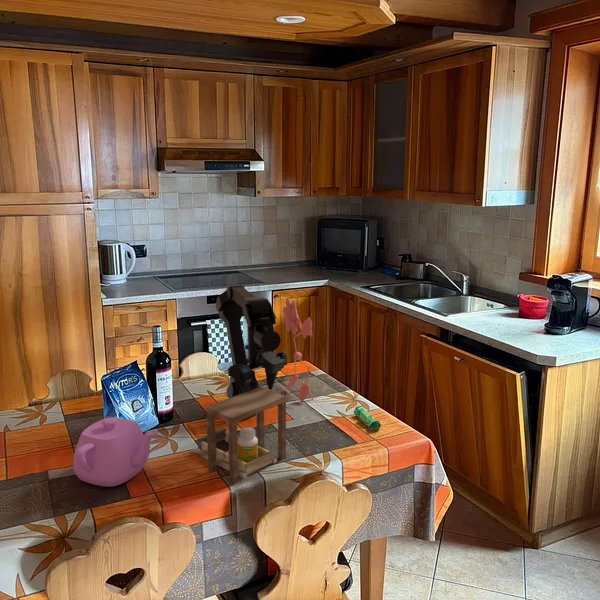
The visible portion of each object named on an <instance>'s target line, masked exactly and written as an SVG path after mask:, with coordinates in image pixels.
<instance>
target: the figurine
mask: <svg viewBox="0 0 600 600" xmlns="http://www.w3.org/2000/svg"><path fill="white" fill-rule="evenodd" d="M282 313H283V315H284V316H285V318H284V319H283V321H281V324H283V323H284V322H285V324H286V325H285V326H286V330H287V332H289V333H290V332H291V333H292V334H293V335H294V336H293V338H292V340H293V344H294V349H295V352H294V354H293V358H294V376H292V377H291V379H290V380H289V381H288V383H287V385H286V388H285V390H286V391H287V390H289V389H291V388H292V387H293V386H294V384H296V383H297V384H298V385H299V386H300V388H299V391H298V397H299V401H300V403H301V404H302V403H303V402H304V401H305V400H306V399H307V398H308V396H310V398H311V399H313V400H314V397H313V395H312V393H311V391H310V385H309V383H308V377H309V373H310V366H309V365H308V364H306V363H305V362H304V361H303V359H302V357H303V356H302V355H303V354H302V353H301V352H299V351H297V345H296V344H297V343H296V338H297V337H299V336H302V337H303V339H304V340H305V339H307V337H308V336H310V337H311V338H313V331H312V328H313V321H312V319H311V318H310V317H307V319H305V320H304V321H303V323H302V322H301V319H300V317H299V314H298V309H297V305H296V300H295V299H292V301H291V300H290V298H289V297H287V298H286V299H285V306H284V307H282ZM297 326H299V329H300V332H299V333H297V332H298V328H297ZM296 361H300V362H301V363H302V364H303V365H305V366H306V367H307V373H306V379H305V383H304V384H301V382H300V379H299V378H298V377H299V374H297V372H296V371H297V363H296ZM286 409H288V407H287V406H286ZM289 409H291V410H294V408H291V407H289Z"/></svg>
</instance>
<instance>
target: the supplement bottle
mask: <svg viewBox="0 0 600 600" xmlns="http://www.w3.org/2000/svg"><path fill="white" fill-rule="evenodd" d="M238 437H239V438H238V459H240V460H242V461H244V462H246V463H248V462H250V461H252V460H254V459H256V458H258V439H257V436H256V429H254V428H253V427H243V428H241V429H240V430H239V436H238Z"/></svg>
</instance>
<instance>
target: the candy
mask: <svg viewBox="0 0 600 600" xmlns="http://www.w3.org/2000/svg"><path fill="white" fill-rule="evenodd" d="M353 414H354V416H356V417H357V418H359V419H360V420H361V422H363V423H364V424H365V425H366V426H368V428H369V429H370V430H371V432H372V431H373V430H377V431H379V430H380V429H381V426H382V424H381V423H380V421H379V420H377V419H375V418H374V416H373V415H372V414H371V413H369V411H368V410H366V409H365V408H364V407H363V405H359V406H356V407H355V409H354V410H353Z"/></svg>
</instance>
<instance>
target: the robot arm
mask: <svg viewBox="0 0 600 600" xmlns="http://www.w3.org/2000/svg"><path fill="white" fill-rule="evenodd" d="M215 308H216V311H217V312H218V316H219V319H221V321H222V322H223V323H224V325H225V328H226V333H227V338H228V344H229V350H230V352H229V353H230V357H231V362H232V365H230V366H229V367H228V369H227V376H228V377H229V384H228V386H227V388H226V397H227V399H229V398H231V397H234V396H237V395H239V394H242V393H245V392H247V391H250V390H253V389H255V388H258V387H259V382H258V380H257V378H256V370H259V369H262V368H264V372H265V378H266V384H267V390H270V391H273V388H274V384H275V381H276V378H277V376H278V373H279V372H281V371H282V370H283V369H284V368H285V366H287V365H288V358H287V353H286V352H285V351H284V350H282V351H280V352H273V351H276V350H277V349H278V348H279V347H280V345H281V341H282V339H281V338H282V337H280V334H279V333H278V332H277V331H276V330H274V329H275V328H274V325H277V321H276V319H277V317H276V313H275V311H274V308H273V306H272V303H271V302H270V301H269V299H268V298H265V297H263V296H261V297H260V296H259V297H258V296H255V295H254V294H252V292H250V291H248V290H247V289H246V288H245V286H244V285H242V284H238V285H237V284H236V285H230V286H227V288H226V290H224V291H223V292H222V293H220V294H219V295H218V296H217V300H216V302H215ZM242 317H244V319H245V322H246V325H247V344H245V342H244V336H243V329H242V324H241V323H242V322H241V320H242ZM246 350H247V353H246ZM247 354H248V355H247ZM247 356H248V357H247ZM255 415H256V414H255ZM255 415H253V416H255ZM253 416H250V417H248V418H245V419H243V420H242V421H244V420H246V419H249V418H251V417H253Z"/></svg>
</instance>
